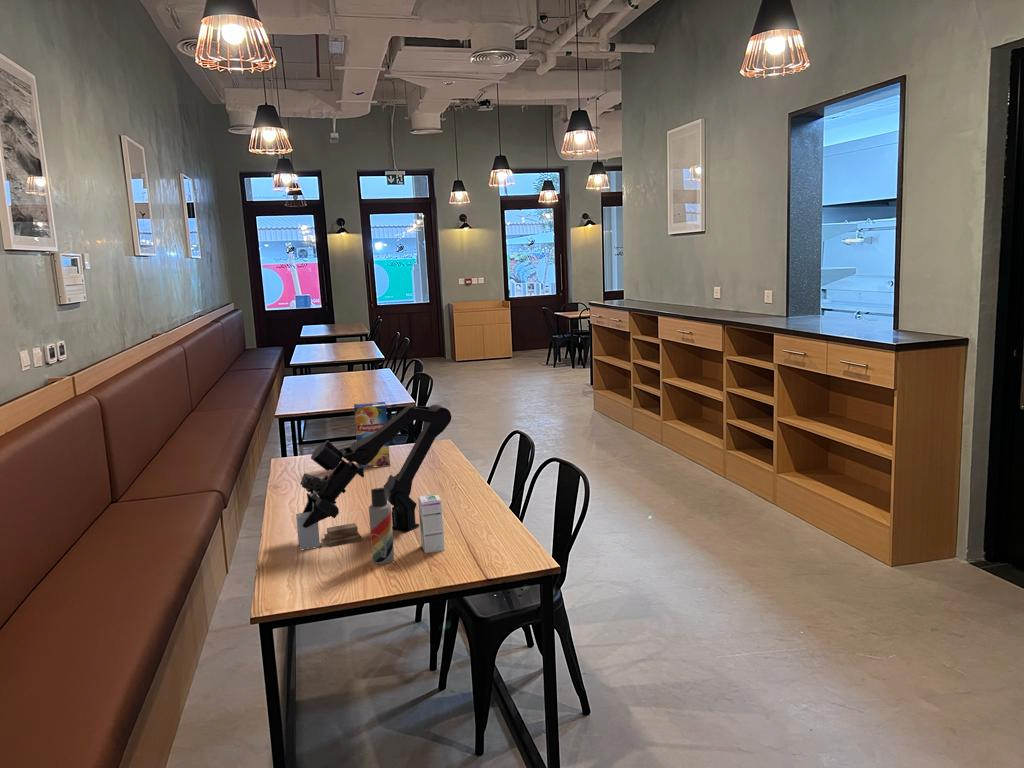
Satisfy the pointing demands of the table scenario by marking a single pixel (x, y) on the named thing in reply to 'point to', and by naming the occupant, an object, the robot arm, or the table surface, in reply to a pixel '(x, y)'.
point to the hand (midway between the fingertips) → (302, 524)
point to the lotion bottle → (381, 527)
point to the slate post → (307, 532)
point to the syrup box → (431, 523)
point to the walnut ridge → (342, 534)
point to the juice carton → (372, 428)
